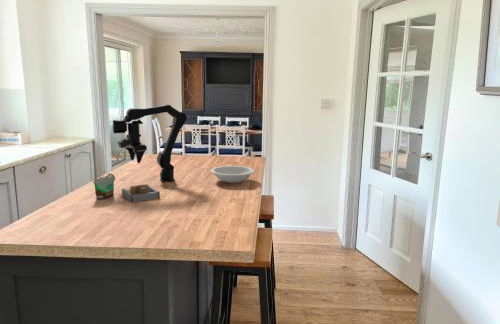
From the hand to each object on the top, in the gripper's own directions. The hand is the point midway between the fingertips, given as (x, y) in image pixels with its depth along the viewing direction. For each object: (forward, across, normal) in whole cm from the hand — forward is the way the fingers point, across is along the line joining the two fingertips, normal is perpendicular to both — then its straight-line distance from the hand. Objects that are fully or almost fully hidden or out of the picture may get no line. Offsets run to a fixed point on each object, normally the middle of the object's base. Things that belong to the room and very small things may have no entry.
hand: (135, 161), depth 195 cm
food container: (+12, +18, -20) cm, 29 cm away
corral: (+12, +25, -7) cm, 29 cm away
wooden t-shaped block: (+12, +27, -8) cm, 30 cm away
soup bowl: (+13, +25, +46) cm, 54 cm away
